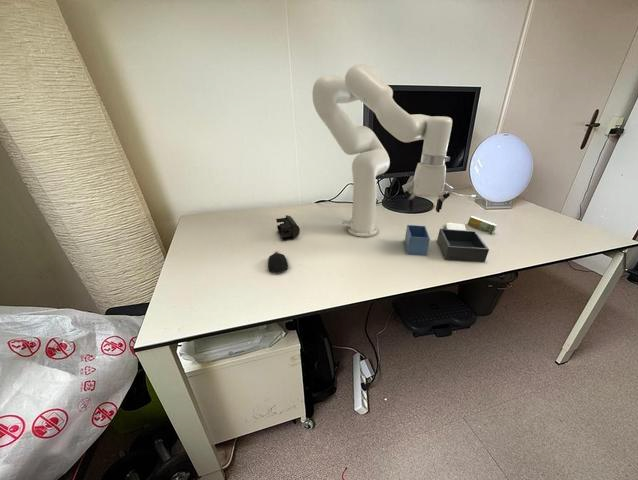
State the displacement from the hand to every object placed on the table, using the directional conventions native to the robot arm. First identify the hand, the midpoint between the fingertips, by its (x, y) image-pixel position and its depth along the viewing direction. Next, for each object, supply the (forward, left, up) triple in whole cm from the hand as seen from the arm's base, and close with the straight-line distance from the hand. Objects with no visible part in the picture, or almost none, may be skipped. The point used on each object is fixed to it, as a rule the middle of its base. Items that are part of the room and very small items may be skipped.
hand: (423, 210), depth 99 cm
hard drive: (+19, +17, -15) cm, 30 cm away
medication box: (+31, +23, -15) cm, 42 cm away
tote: (+16, 0, -15) cm, 22 cm away
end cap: (-52, +3, -15) cm, 54 cm away
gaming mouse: (-50, -19, -15) cm, 55 cm away
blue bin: (-1, 0, -15) cm, 15 cm away
